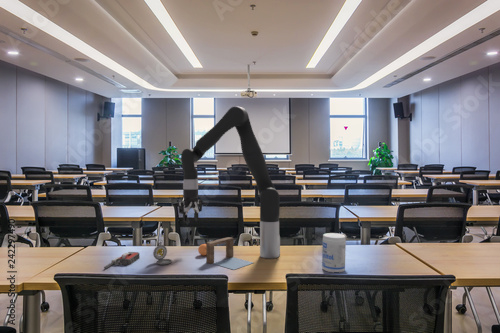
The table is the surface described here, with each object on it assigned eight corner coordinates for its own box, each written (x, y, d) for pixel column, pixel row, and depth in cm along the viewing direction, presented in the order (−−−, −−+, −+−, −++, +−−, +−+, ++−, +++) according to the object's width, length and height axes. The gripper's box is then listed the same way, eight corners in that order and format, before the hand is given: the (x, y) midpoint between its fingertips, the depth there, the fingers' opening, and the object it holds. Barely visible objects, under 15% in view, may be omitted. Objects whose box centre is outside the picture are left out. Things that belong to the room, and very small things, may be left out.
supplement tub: (318, 270, 143) (318, 235, 143) (328, 264, 150) (328, 231, 150) (339, 275, 137) (339, 238, 137) (349, 269, 144) (349, 234, 144)
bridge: (206, 262, 153) (206, 242, 153) (228, 255, 164) (228, 237, 164) (210, 264, 151) (210, 243, 151) (233, 257, 162) (233, 238, 162)
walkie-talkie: (123, 257, 163) (102, 271, 143) (123, 248, 163) (102, 260, 143) (141, 258, 162) (122, 271, 142) (141, 248, 162) (122, 261, 142)
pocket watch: (167, 265, 149) (167, 243, 149) (150, 264, 150) (150, 242, 150) (175, 260, 157) (175, 239, 157) (158, 259, 158) (158, 238, 158)
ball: (204, 253, 169) (204, 242, 169) (211, 255, 166) (211, 243, 166) (195, 255, 165) (195, 244, 165) (203, 257, 162) (203, 246, 161)
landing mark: (233, 257, 161) (233, 257, 161) (253, 263, 153) (253, 262, 153) (212, 263, 152) (212, 263, 152) (233, 270, 143) (233, 269, 143)
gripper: (183, 189, 164) (184, 224, 164) (206, 187, 174) (206, 220, 175) (174, 188, 168) (174, 222, 169) (196, 187, 179) (197, 218, 180)
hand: (190, 221), depth 172 cm, fingers open, 6 cm apart
